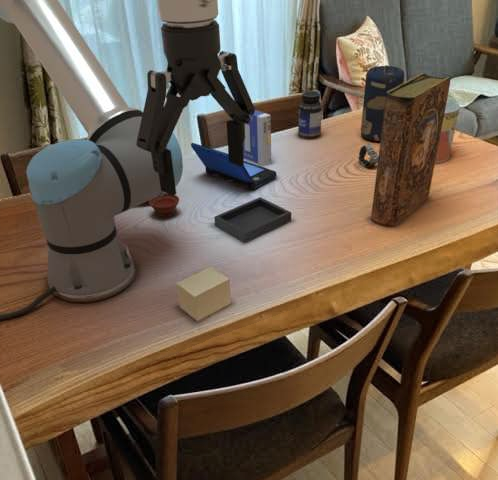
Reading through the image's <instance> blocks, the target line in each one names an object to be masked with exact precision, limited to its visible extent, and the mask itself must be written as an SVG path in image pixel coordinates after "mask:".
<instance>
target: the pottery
mask: <svg viewBox="0 0 498 480" xmlns="http://www.w3.org/2000/svg"><path fill="white" fill-rule="evenodd" d="M179 203H180V197H179V196H178V195H177V194H175V195H173V196H172V195H170V194H168V193H164V194H163V195H162V196H161V197H158V198H157V197H156V198H154V199H151V200H149V201H148V204H149V206H150V207H151V208H152V209H154V211H155V212H157V213H158V216H160V217H164V218H167V217H170V216H172V215H173V214H174V210H175V209H176V207H177V206H178V205H179Z"/></svg>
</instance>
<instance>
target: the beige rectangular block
mask: <svg viewBox="0 0 498 480" xmlns="http://www.w3.org/2000/svg"><path fill="white" fill-rule="evenodd" d="M176 290H177V291H176V292H177V297H178V305H179V308H180V309H181V310H182V311H184V312H185V313H186V314H188V315H189V316H190V317H191V318H193V319H194V320H195V321H196V322H199V321H201V320H203V319H205V318H206V317H209V316H210V315H212V314H214V313H216V312H218V311H219V310H221V309H224V308H225V307H227V306H229V305H230V304H231V305H232V298H231V297H232V296H231V284H230V278H229V277H227V276H225V275H224V274H223V273H221V272H220V271H218V270H216V269H215V268H214V267H212V266H209V267H207V268H205V269H202V270H201V271H199V272H196V273H194V274H193V275H190V276H188V277H186V278H184V279H182V280H180V281H178V282H176Z"/></svg>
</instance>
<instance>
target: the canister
mask: <svg viewBox="0 0 498 480" xmlns="http://www.w3.org/2000/svg"><path fill="white" fill-rule="evenodd" d="M404 82H405V71H404V69H402V68H400V67H397V66H392V65H388V64H385V65H378V66H373V67H370V68H368V69H367V71H366V74H365V84H364V92H363V103H362V114H361V124H360V134H361V136H362V137H363V138H365V139H366V140H369V141H375V142H380V140H381V132H382V124H383V116H384V107H385V99H386V92H387V91H389V90H391V89H393V88H395V87H397V86H399V85H401V84H403V83H404Z"/></svg>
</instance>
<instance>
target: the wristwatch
mask: <svg viewBox="0 0 498 480" xmlns="http://www.w3.org/2000/svg"><path fill="white" fill-rule="evenodd" d="M358 155H359V156H358V158H357V159H358V162H359V163H361V166H362V167H365V168H371V167H373V166H375V165H377V164H378V157H379V153H378V152H376V150H375V149H374V146H373V145H372V144H371V143H369V144H365V145H363V146H361V147H360V149H359V152H358ZM366 155H368V156H369V160H368V159H365V157H366Z"/></svg>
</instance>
